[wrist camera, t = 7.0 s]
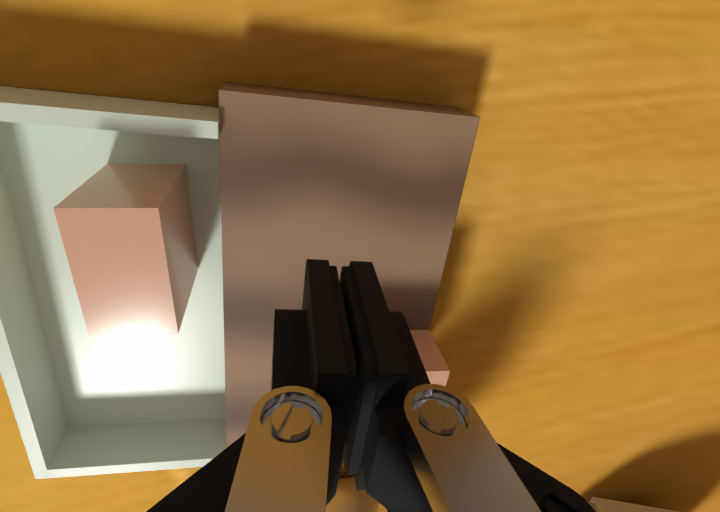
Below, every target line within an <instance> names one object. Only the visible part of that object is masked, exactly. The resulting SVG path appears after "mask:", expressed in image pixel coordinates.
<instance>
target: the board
mask: <svg viewBox="0 0 720 512" xmlns="http://www.w3.org/2000/svg"><path fill="white" fill-rule="evenodd" d="M218 91H219V135H220V179H221V223H222V267H223V311H224V355H225V398H226V442H227V444H232V443H233V442H235V441H236V440H237V439H238V438H240V437H241V436H242V435H243V434H245V433H246V432H247V428H248V424H249V421H250V417H251V413H252V411H253V409H254V406H255V404H256V402H257V401H258V400H259V399H260V398H261V397H262V396H263V395H264V394H266V393H268V392H270V391H271V380H272V354H273V332H274V313H275V309H295V310H302V302H303V290H304V279H305V267H306V260H307V259H318V260H328V261H329V266H336V267H337V271H338V276H339V281H340V274H341V268H342V266H349V263H350V261H365V262H372V263H373V266H374V269H375V271H376V274H377V277H378V280H379V283H380V286H381V289H382V292H383V295H384V298H385V301H386V303H387V306H388V309H389V311H397V312H402V313H403V315H404V316H405V319H406V321H407V324H408V327H409V329H410V330H429V328H430V324H431V319H432V315H433V311H434V307H435V303H436V299H437V295H438V290H439V286H440V282H441V278H442V274H443V270H444V266H445V261H446V257H447V253H448V249H449V245H450V241H451V236H452V232H453V228H454V224H455V220H456V216H457V212H458V207H459V203H460V199H461V195H462V191H463V187H464V182H465V178H466V174H467V170H468V166H469V162H470V158H471V153H472V149H473V145H474V141H475V137H476V133H477V129H478V124H479V120H480V117H478V116H476V115H473V114H471V113H469V112H466V111H464V110H462V109H459V108H457V107H449V106H440V105H431V104H422V103H413V102H403V101H394V100H385V99H376V98H367V97H358V96H349V95H340V94H330V93H321V92H312V91H303V90H294V89H285V88H276V87H267V86H257V85H248V84H239V83H230V82H225V83H224V84H223V85H222V86H221V88H220V89H219V90H218Z"/></svg>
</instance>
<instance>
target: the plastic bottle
mask: <svg viewBox="0 0 720 512" xmlns="http://www.w3.org/2000/svg"><path fill="white" fill-rule="evenodd" d="M326 512H379V511H378V502H377V501H376V500H375V499H374V498H372V497H371V496H370V495H369V494H367V493H366V490H357V491H356V485H355V478H354V476H352V477H345V478H341V479H338V485H337V490H336V495H335V496H334V497H333V499H332V500H331V501H330V502H329V503H328V504H327V506H326Z"/></svg>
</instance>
